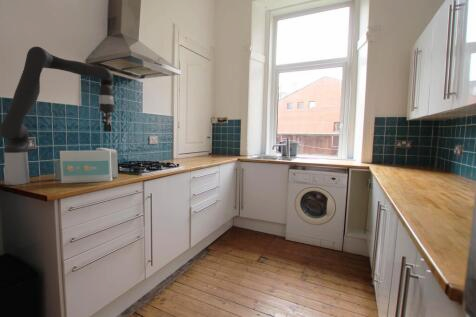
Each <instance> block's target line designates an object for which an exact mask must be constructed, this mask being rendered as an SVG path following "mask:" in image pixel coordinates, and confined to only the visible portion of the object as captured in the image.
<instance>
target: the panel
mask: <svg viewBox="0 0 476 317" xmlns="http://www.w3.org/2000/svg"><path fill="white" fill-rule="evenodd" d="M84 165H90V167H93V166H96V169H90V171H84V169H83V167H84ZM67 166H73V167H80V169H77V170H73V171H67V170H66V167H67ZM109 174H110V172H109V160H94V161H63V176H81V175H109Z"/></svg>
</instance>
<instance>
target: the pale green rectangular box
mask: <svg viewBox="0 0 476 317" xmlns="http://www.w3.org/2000/svg"><path fill="white" fill-rule="evenodd" d="M59 159H60V165H61V180H60V184H74V183H75V184H76V183H96V182H97V183H99V182H101V183H102V182H112V181H113V178H112V176H111V151H96V150H60V151H59ZM94 160H109V172H110V174H109V175H81V176H63V161H94ZM77 169H80V167H73V166H67V167H66V170H67V171H73V170H77ZM83 169H84V171H90V169H96V166H93V167H90V165H84V167H83Z"/></svg>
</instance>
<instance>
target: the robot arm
mask: <svg viewBox="0 0 476 317" xmlns="http://www.w3.org/2000/svg"><path fill="white" fill-rule="evenodd" d="M43 69H51V70H58V71H59V70H60V71H65V72H69V73H72V74H75V75H78V76H79V75H80V76H83V77H88V78H95V79H99V80H100V85H99V90H98V91H99V98H98V101H99V103H98V104H99V111H100V113H101V115H102V116H101V117H102V119H101V120H102V122H101V123H102V125H103V132H112V125H113V121H112V119H113V115H112V114H111V113H115V104H114V103H115V100H114V75H113V73H112V72H111V70H110V69H108V68H107V67H104V66H99V65H92V64H89V63H85V62H82V61H77V60H70V59H65V58H61V57H58V56H56V55H54V54H51V53H50V52H49V51H47V50H46V49H44V48H42V47H41V46H33V47H31V48H30V49H28V51H27V53H26V57H25V62H24V67H23V70H22V73H21V76H20V78H19V81H18V83H17V86H16V88H15V91H14V94H13V98H12V100H11V102H10V105H9V108H8V111H7V113H6V115H5V117H4V119H3V120H2V122H1V124H0V136H1V138H3V139H4V140H5V139H6V140H7V144H6V145H5V146H4V147H3V151H4V162H5V164H4V165H5V166H4V167H3V176H4V177H3V179H4V185H6V186H7V185H8V186H14V185H15V186H16V185H25V184H29V183H30V170H29V169H30V168H29V158H28V155H29V154H28V148H29V144H30V143H29V130H28V128H27V126H26V125H25V124H23V123H24V120H25V118H26V116H27V114H28V113H29V112H30V111H31V110H32V109H33V108H34V106H35V105H36V103H37V100H38V98H39V96H40V91H41V82H40V81H41V80H40V79H41V74H42V72H43Z"/></svg>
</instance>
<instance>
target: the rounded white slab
mask: <svg viewBox="0 0 476 317" xmlns="http://www.w3.org/2000/svg"><path fill="white" fill-rule="evenodd" d="M95 151H111V176H112V179H115V178H116V177H117V178H118V177H119V175H118V174H119V172H118V170H119V169H118V150H117V149H113V148H109V147H108V148H107V147H96V149H95Z"/></svg>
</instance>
